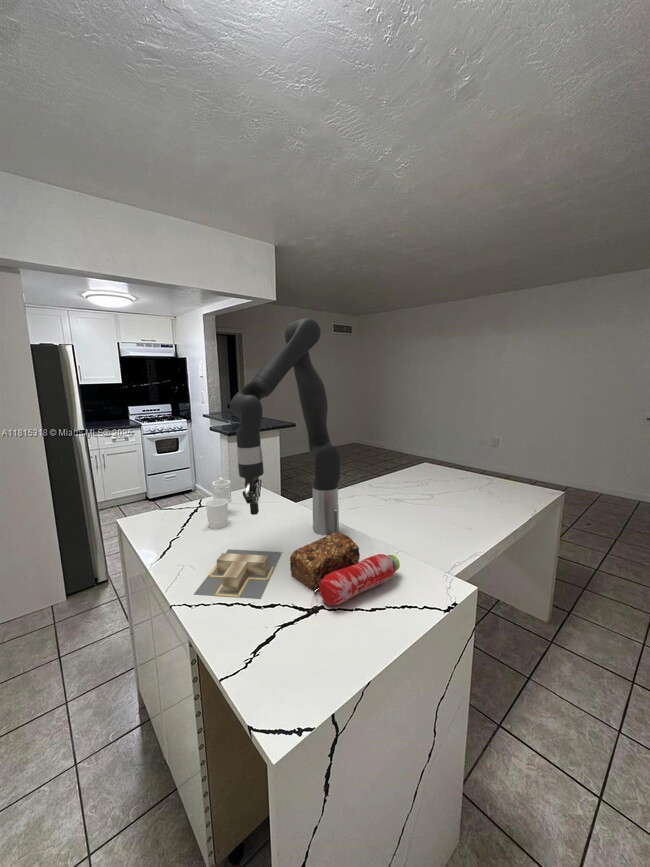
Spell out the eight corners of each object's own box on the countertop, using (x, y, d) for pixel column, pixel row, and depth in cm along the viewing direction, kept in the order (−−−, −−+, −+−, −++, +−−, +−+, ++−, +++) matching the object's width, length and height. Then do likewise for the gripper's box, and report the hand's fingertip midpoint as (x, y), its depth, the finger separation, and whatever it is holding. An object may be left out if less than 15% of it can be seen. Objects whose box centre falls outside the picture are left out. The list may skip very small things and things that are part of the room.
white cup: (223, 532, 130) (221, 506, 128) (203, 531, 132) (201, 505, 130) (232, 523, 138) (231, 499, 136) (214, 522, 139) (212, 498, 138)
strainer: (231, 510, 151) (229, 476, 149) (232, 516, 145) (230, 481, 142) (214, 512, 149) (212, 478, 146) (214, 518, 142) (212, 483, 140)
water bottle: (307, 568, 94) (376, 542, 108) (310, 597, 94) (378, 567, 109) (334, 582, 84) (405, 551, 99) (337, 615, 84) (408, 579, 99)
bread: (337, 556, 113) (337, 527, 111) (361, 570, 105) (361, 539, 103) (288, 578, 101) (287, 546, 99) (311, 596, 93) (310, 561, 91)
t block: (268, 568, 104) (268, 555, 104) (255, 593, 93) (255, 579, 92) (223, 565, 106) (222, 553, 105) (204, 589, 94) (203, 575, 94)
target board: (282, 554, 114) (282, 551, 114) (260, 602, 90) (260, 598, 90) (228, 552, 116) (228, 548, 116) (193, 598, 92) (193, 593, 92)
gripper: (256, 465, 101) (261, 522, 105) (267, 454, 114) (271, 505, 118) (230, 466, 102) (236, 522, 105) (244, 455, 115) (249, 505, 118)
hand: (254, 513), depth 111 cm, fingers closed
